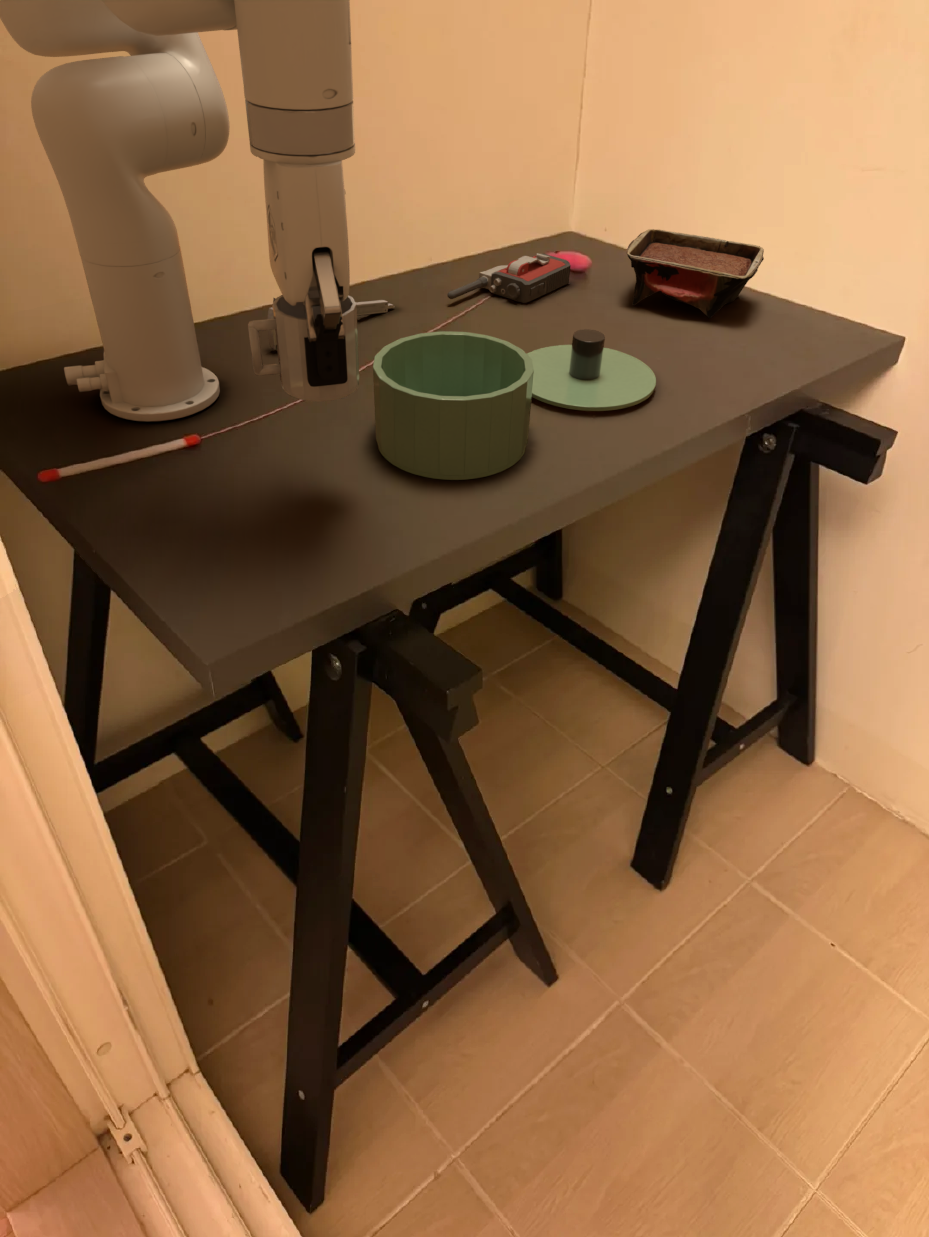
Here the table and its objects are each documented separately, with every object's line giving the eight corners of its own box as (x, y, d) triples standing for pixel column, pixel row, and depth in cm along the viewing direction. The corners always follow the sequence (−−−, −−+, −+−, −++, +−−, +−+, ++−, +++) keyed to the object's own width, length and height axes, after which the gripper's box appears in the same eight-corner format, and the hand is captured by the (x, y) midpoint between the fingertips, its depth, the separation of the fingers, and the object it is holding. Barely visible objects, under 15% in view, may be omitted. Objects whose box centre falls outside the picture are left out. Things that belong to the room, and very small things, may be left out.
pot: (399, 490, 83) (396, 409, 78) (361, 415, 94) (357, 340, 89) (549, 467, 87) (557, 388, 82) (496, 398, 98) (500, 324, 93)
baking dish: (720, 345, 116) (751, 271, 110) (601, 297, 121) (624, 222, 114) (747, 318, 127) (777, 249, 120) (637, 274, 131) (659, 205, 125)
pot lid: (544, 424, 94) (549, 374, 90) (492, 361, 106) (495, 315, 102) (680, 405, 98) (690, 357, 95) (616, 346, 110) (622, 302, 106)
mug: (349, 363, 78) (345, 285, 74) (366, 396, 74) (363, 316, 69) (250, 373, 76) (240, 293, 72) (261, 408, 72) (251, 326, 67)
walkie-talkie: (527, 267, 132) (442, 304, 119) (530, 237, 129) (442, 271, 117) (576, 282, 127) (493, 321, 115) (580, 250, 125) (494, 287, 113)
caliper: (275, 354, 106) (269, 303, 102) (270, 351, 106) (263, 300, 102) (395, 309, 118) (394, 261, 114) (389, 307, 118) (388, 259, 114)
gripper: (233, 103, 67) (259, 327, 79) (267, 163, 55) (292, 417, 67) (328, 101, 69) (340, 320, 81) (382, 158, 57) (387, 406, 69)
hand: (318, 362), depth 74 cm, fingers closed on mug, 6 cm apart
